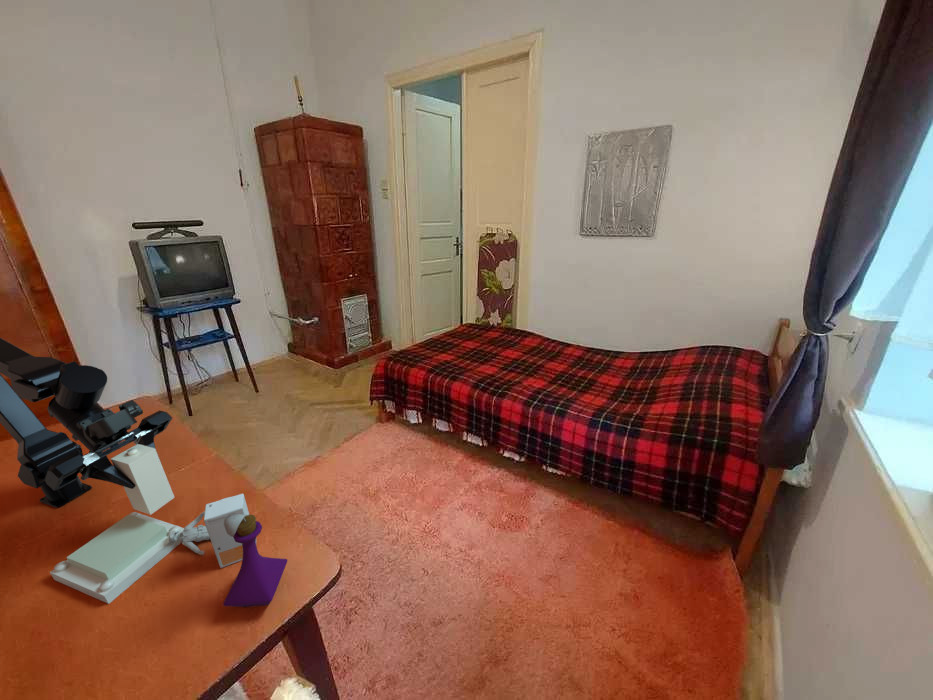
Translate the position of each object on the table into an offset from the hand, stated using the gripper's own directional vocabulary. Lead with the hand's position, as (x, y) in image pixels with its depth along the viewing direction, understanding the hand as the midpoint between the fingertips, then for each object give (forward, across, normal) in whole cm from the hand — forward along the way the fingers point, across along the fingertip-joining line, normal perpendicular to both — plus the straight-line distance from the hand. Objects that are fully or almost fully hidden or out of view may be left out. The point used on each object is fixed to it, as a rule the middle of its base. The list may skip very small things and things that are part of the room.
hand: (148, 478), depth 71 cm
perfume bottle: (+29, -5, -10) cm, 31 cm away
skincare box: (+22, 0, -3) cm, 23 cm away
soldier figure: (+17, +1, +3) cm, 17 cm away
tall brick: (+4, 0, +6) cm, 7 cm away
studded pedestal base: (+8, -7, +11) cm, 15 cm away
